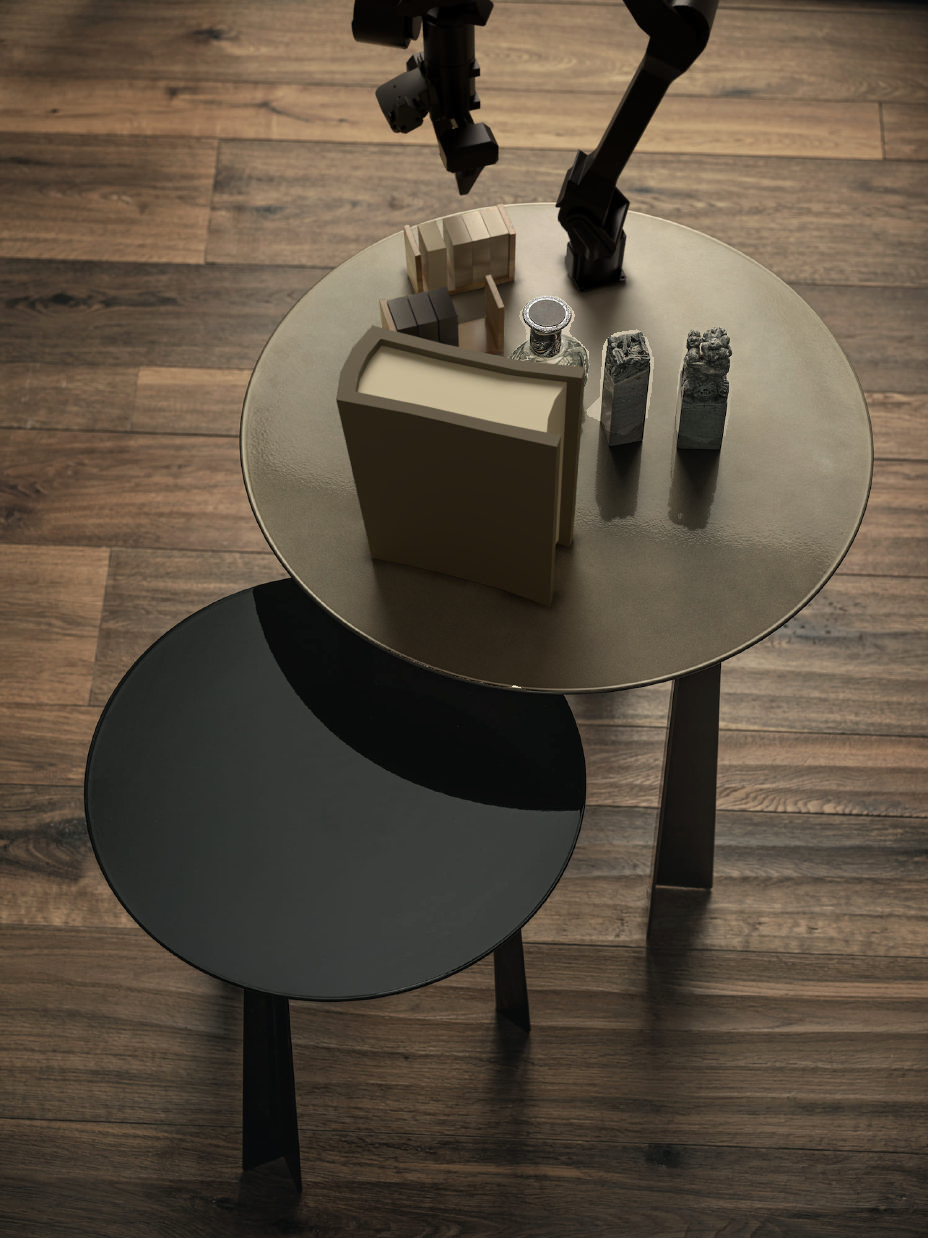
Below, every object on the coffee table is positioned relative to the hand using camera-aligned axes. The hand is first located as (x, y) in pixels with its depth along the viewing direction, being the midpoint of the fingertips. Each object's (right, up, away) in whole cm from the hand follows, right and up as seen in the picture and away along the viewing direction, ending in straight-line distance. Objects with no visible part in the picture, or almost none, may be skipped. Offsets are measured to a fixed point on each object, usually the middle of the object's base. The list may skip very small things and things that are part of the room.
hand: (453, 169), depth 135 cm
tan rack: (-1, -22, +2) cm, 22 cm away
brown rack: (+1, -11, +8) cm, 13 cm away
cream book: (-3, -11, +7) cm, 13 cm away
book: (+2, -47, -12) cm, 49 cm away
